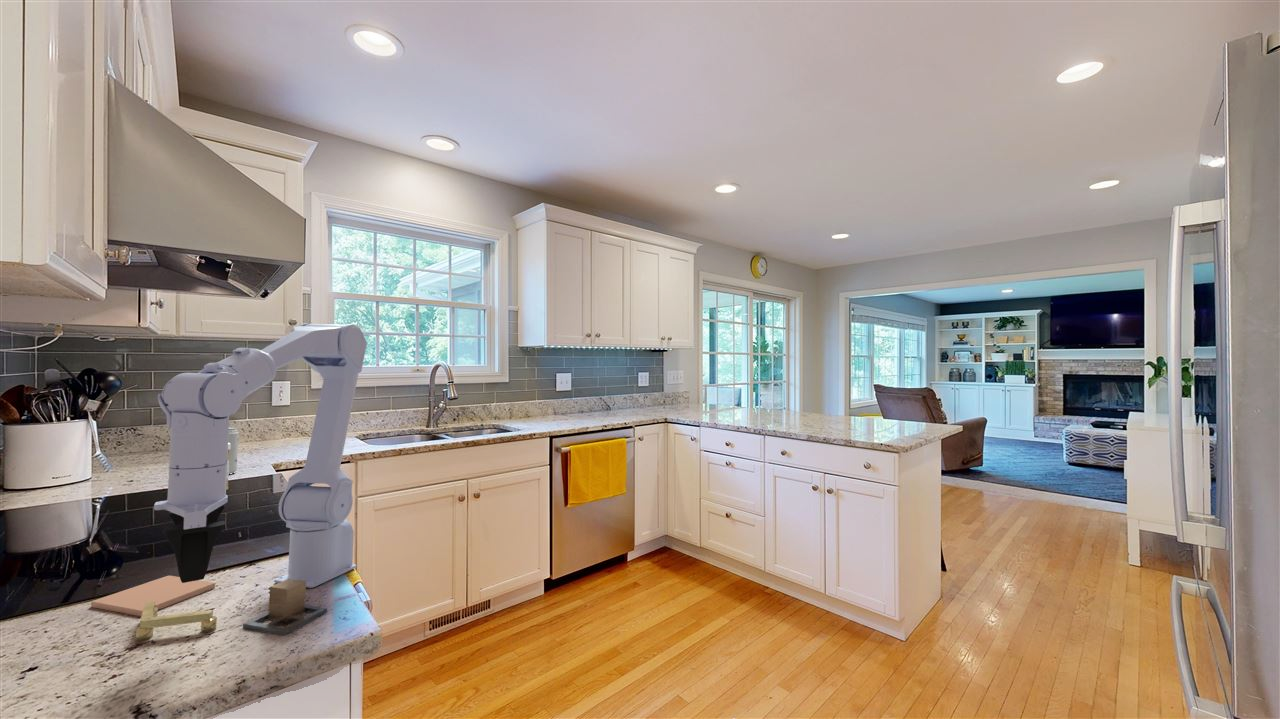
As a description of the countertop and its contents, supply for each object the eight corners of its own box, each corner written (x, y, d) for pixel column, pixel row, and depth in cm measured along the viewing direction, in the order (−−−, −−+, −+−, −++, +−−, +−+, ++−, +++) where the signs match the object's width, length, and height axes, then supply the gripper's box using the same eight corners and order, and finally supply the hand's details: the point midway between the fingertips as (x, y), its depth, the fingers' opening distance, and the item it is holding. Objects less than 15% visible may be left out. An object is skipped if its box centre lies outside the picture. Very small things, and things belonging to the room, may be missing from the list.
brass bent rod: (154, 615, 72) (155, 598, 72) (219, 627, 69) (220, 610, 69) (105, 634, 67) (107, 616, 67) (174, 648, 64) (175, 629, 64)
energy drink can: (240, 473, 166) (243, 428, 166) (219, 476, 160) (221, 429, 161) (229, 471, 168) (232, 426, 168) (208, 474, 163) (211, 428, 163)
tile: (168, 580, 84) (168, 575, 84) (214, 587, 81) (215, 582, 82) (91, 606, 74) (91, 601, 74) (141, 616, 72) (141, 610, 72)
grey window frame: (288, 605, 76) (290, 571, 76) (327, 612, 75) (328, 577, 75) (242, 628, 69) (244, 590, 70) (283, 635, 68) (285, 597, 68)
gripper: (161, 459, 68) (156, 559, 68) (150, 478, 57) (144, 599, 57) (228, 454, 73) (223, 548, 72) (230, 472, 62) (225, 583, 61)
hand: (193, 570), depth 65 cm, fingers open, 7 cm apart
